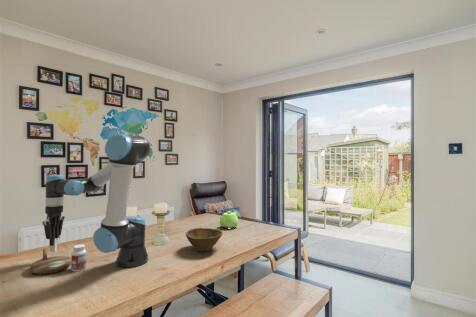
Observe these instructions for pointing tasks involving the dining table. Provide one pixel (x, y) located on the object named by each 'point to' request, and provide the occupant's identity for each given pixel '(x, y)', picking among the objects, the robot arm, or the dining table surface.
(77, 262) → the pill bottle
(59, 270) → the susan base
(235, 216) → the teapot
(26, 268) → the dining table surface
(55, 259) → the disc
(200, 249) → the bowl
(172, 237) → the dining table surface
